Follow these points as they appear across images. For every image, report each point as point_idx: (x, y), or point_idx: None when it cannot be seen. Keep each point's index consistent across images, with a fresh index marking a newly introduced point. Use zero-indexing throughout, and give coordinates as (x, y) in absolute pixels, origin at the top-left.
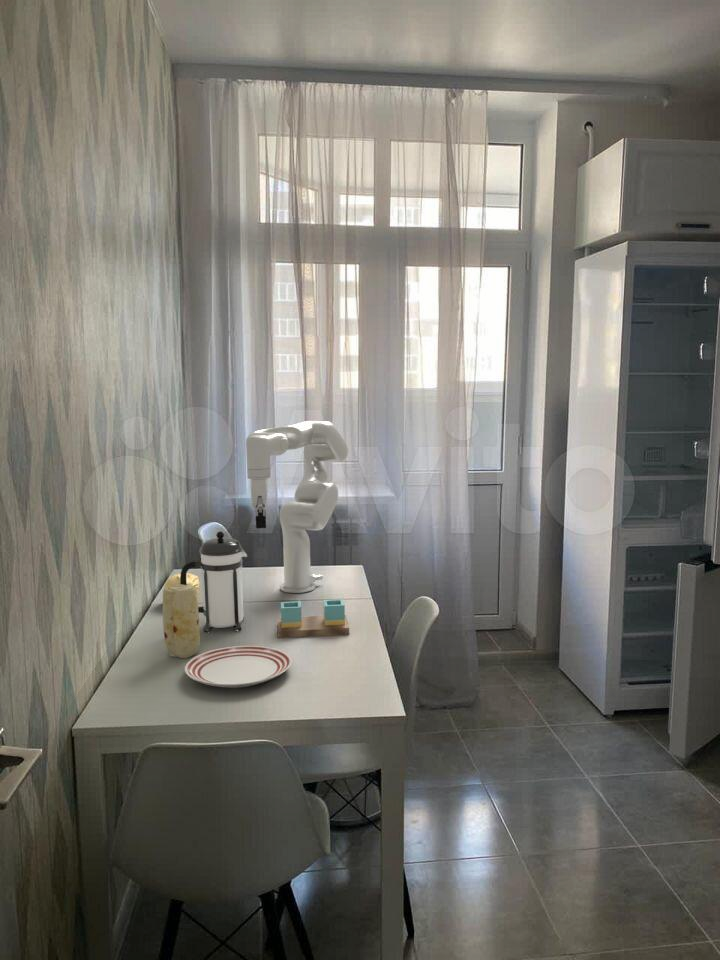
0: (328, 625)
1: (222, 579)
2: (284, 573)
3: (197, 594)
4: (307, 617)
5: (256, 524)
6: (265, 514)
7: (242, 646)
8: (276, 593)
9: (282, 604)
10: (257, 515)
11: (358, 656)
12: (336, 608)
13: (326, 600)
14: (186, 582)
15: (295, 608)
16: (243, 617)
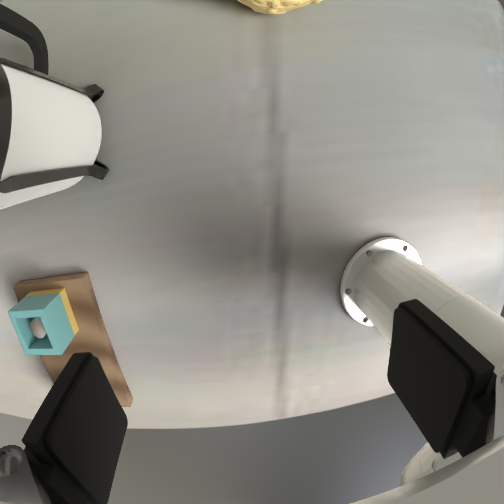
0: None
1: None
2: (399, 265)
3: (264, 9)
4: (97, 341)
5: (62, 377)
6: (420, 425)
7: None
8: (349, 230)
9: (29, 314)
10: (1, 463)
11: (3, 394)
12: None
13: None
14: (1, 23)
15: (21, 342)
16: (100, 178)
